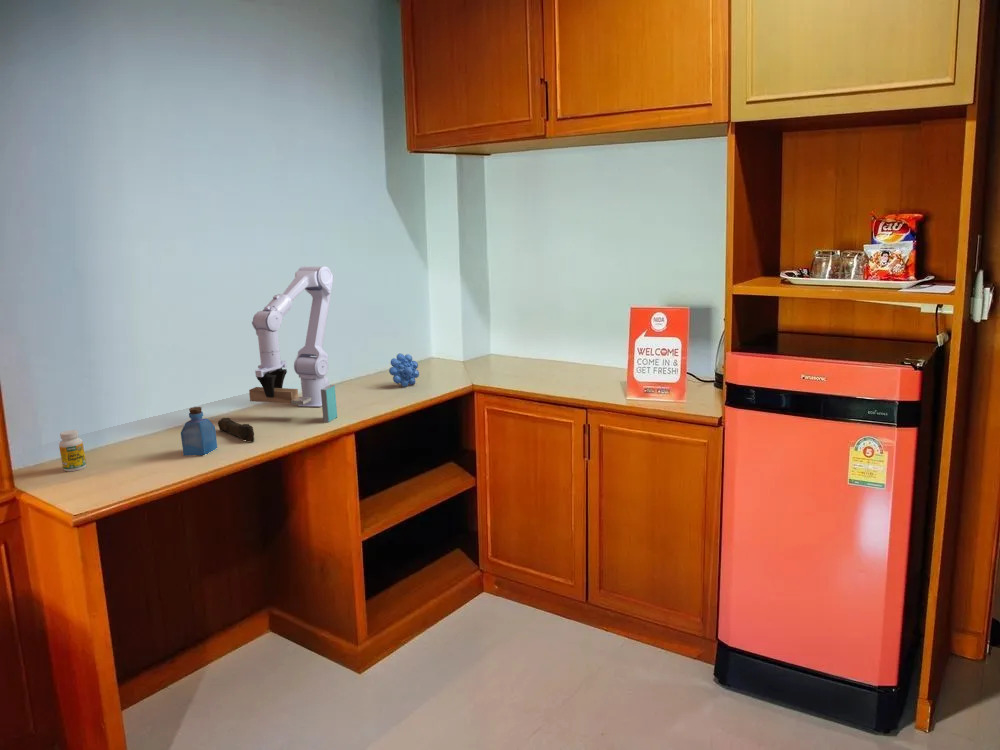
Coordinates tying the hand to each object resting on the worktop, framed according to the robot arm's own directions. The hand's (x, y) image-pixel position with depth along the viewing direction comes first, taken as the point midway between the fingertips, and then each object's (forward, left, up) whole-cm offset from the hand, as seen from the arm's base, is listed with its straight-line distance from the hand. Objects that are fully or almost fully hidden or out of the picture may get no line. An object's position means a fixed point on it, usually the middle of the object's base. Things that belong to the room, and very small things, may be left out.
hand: (274, 395), depth 248 cm
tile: (0, +18, -7) cm, 19 cm away
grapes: (-42, +26, -7) cm, 50 cm away
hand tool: (+18, -1, -8) cm, 20 cm away
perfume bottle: (+34, -3, -7) cm, 35 cm away
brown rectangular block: (0, +2, -2) cm, 3 cm away
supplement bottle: (+51, -28, -7) cm, 59 cm away
